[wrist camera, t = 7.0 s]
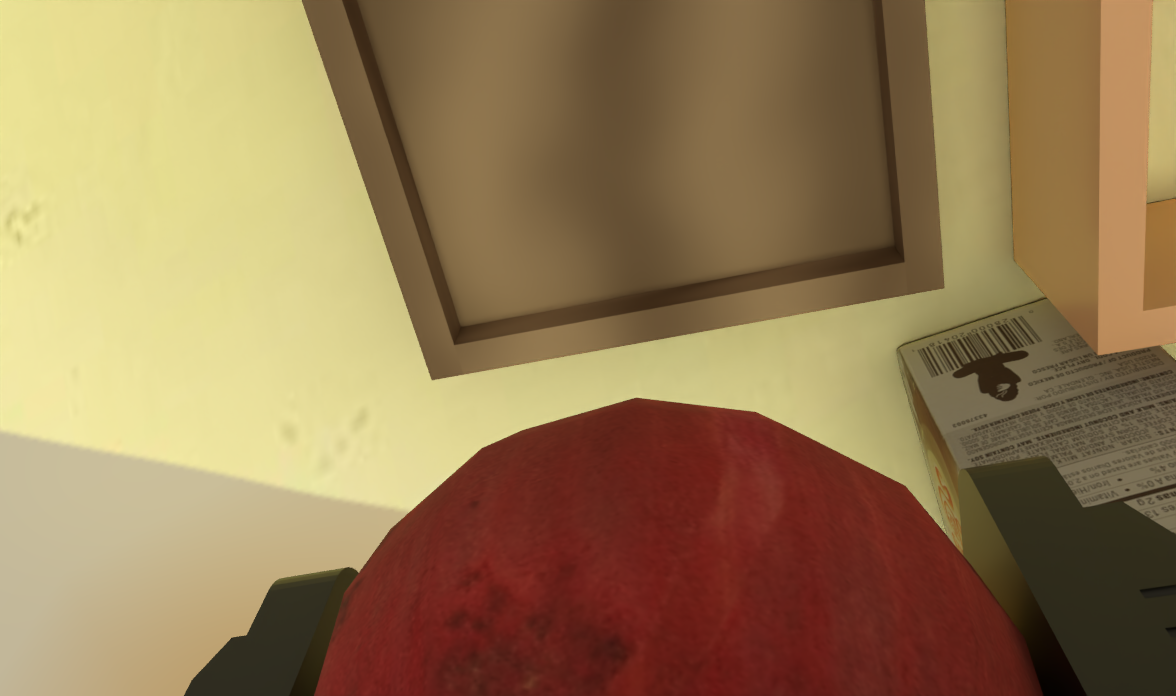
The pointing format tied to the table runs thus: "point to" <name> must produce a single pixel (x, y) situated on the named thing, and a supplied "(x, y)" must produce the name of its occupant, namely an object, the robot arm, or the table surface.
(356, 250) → the table surface
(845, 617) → the onion
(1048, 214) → the open pink storage bin
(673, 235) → the walnut tray
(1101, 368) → the coffee box
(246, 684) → the robot arm
